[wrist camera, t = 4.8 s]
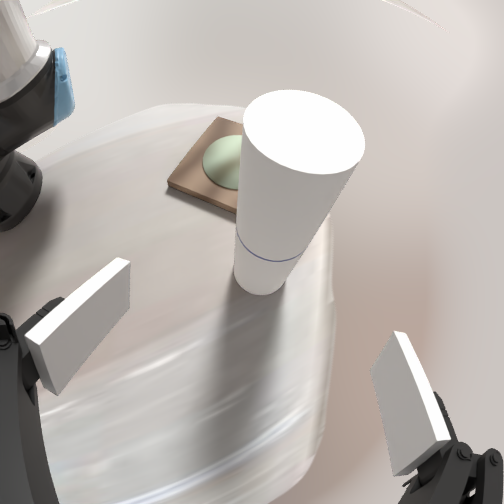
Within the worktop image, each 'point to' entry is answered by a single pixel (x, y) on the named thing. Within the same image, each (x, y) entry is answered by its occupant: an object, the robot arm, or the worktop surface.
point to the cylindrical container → (288, 181)
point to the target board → (212, 166)
